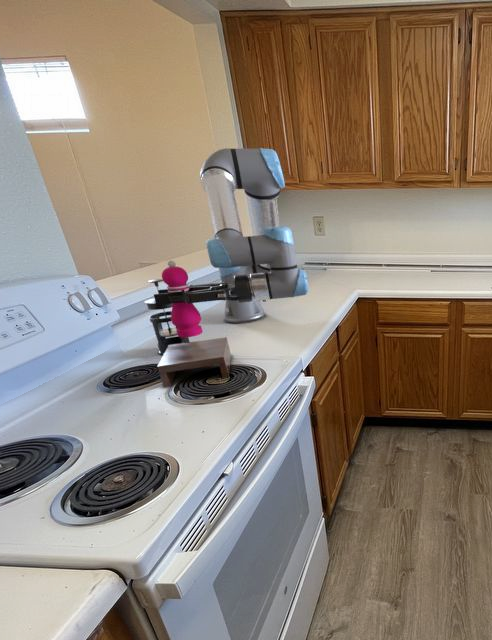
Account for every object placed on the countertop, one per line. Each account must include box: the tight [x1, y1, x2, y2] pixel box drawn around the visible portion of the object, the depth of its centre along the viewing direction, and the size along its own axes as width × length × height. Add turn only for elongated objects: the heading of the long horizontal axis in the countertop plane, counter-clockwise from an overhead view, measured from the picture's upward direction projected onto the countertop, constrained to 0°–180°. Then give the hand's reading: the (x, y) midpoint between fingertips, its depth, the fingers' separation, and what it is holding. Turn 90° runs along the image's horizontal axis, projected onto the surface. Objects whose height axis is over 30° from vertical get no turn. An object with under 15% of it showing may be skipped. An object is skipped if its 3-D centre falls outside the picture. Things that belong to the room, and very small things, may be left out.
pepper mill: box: [161, 260, 203, 338], centre depth 112 cm, size 7×7×20 cm
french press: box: [144, 278, 190, 356], centre depth 132 cm, size 12×9×23 cm
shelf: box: [156, 337, 232, 388], centre depth 119 cm, size 18×16×6 cm
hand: (157, 297), depth 110 cm, fingers closed on pepper mill, 5 cm apart
